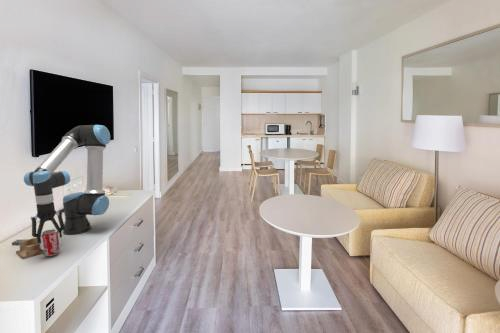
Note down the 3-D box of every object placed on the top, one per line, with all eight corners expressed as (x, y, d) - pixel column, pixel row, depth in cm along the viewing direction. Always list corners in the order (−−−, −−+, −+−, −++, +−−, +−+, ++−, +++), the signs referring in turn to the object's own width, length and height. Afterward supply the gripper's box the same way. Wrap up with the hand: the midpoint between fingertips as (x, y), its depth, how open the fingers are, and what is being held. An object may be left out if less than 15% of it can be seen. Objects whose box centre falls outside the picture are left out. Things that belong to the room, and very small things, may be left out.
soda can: (61, 250, 177) (59, 228, 175) (56, 256, 170) (53, 233, 168) (47, 251, 176) (44, 229, 174) (41, 257, 169) (38, 234, 167)
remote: (12, 246, 189) (11, 242, 189) (17, 243, 193) (17, 239, 193) (40, 245, 189) (40, 241, 188) (45, 242, 193) (44, 238, 193)
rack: (45, 244, 188) (44, 235, 187) (53, 250, 180) (52, 240, 179) (16, 253, 178) (14, 243, 177) (23, 259, 170) (21, 248, 169)
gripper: (63, 197, 179) (68, 239, 182) (19, 205, 164) (25, 250, 168) (69, 199, 174) (74, 242, 177) (24, 208, 159) (30, 254, 163)
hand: (50, 246), depth 173 cm, fingers closed on soda can, 7 cm apart
